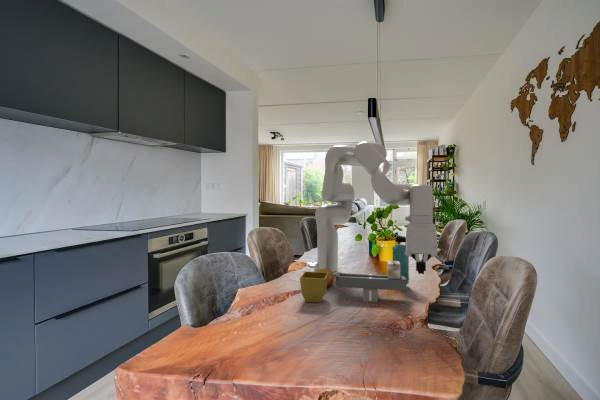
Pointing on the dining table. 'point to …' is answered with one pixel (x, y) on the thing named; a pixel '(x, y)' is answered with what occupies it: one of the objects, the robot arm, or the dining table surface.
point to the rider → (393, 269)
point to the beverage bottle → (401, 257)
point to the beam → (370, 284)
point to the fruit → (330, 276)
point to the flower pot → (313, 286)
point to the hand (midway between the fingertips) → (420, 273)
